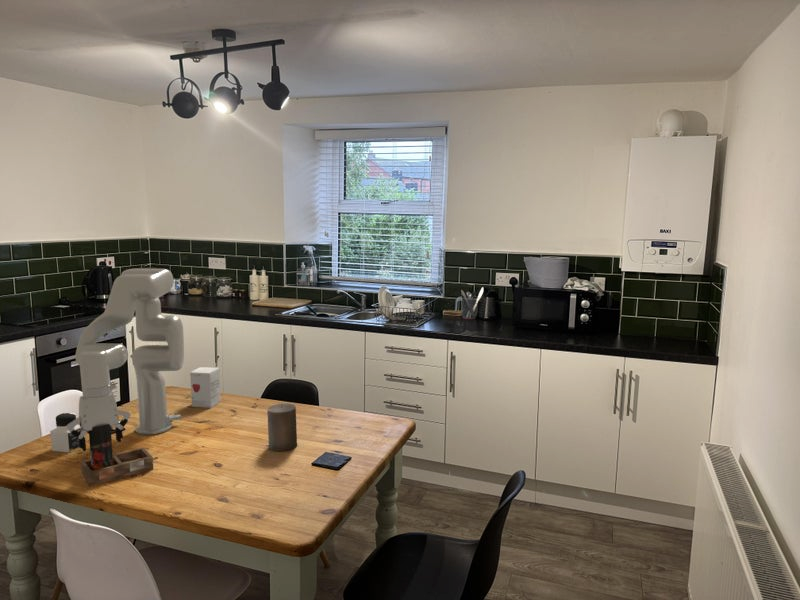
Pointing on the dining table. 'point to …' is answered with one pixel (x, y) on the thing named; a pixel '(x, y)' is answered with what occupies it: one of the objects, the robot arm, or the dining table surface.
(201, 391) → the supplement box
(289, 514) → the dining table surface
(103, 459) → the deodorant
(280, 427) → the pillar candle
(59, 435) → the medicine bottle
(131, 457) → the divided compartment tray
